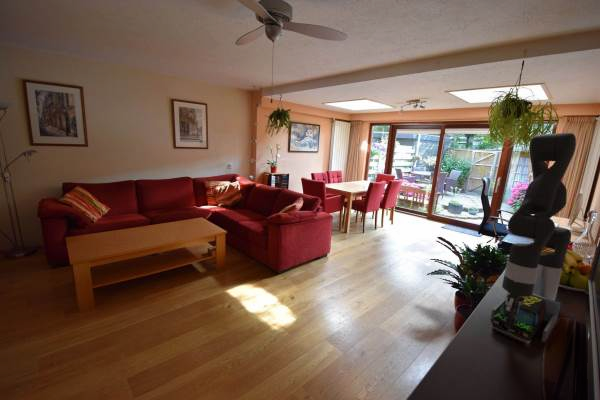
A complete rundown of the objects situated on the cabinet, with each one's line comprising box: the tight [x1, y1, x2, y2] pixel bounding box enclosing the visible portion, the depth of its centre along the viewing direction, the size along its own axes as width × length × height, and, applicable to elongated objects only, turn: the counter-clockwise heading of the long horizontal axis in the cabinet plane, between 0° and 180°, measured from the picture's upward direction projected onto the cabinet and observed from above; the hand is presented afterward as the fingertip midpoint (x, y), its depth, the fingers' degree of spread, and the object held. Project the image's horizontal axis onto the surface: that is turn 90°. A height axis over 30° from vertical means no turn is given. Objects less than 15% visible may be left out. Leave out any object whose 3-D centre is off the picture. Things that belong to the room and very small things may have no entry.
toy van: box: [490, 294, 546, 348], centre depth 94 cm, size 11×25×10 cm, turn 129°
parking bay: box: [490, 291, 562, 343], centre depth 98 cm, size 19×15×8 cm
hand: (508, 327), depth 86 cm, fingers closed
